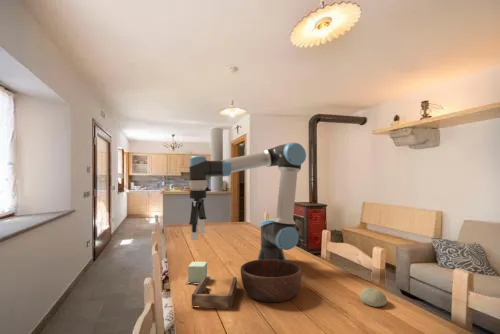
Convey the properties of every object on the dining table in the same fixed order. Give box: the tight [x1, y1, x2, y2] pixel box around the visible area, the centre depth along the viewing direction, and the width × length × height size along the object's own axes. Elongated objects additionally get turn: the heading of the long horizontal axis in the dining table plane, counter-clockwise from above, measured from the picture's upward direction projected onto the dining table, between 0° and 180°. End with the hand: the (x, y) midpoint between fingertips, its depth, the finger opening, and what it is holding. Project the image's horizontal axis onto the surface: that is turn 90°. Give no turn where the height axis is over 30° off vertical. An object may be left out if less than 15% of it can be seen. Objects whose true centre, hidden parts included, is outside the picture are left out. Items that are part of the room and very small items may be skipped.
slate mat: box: [185, 275, 211, 284], centre depth 131 cm, size 9×9×1 cm
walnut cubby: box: [191, 276, 238, 309], centre depth 113 cm, size 14×19×4 cm
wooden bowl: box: [240, 259, 303, 303], centre depth 118 cm, size 25×25×10 cm
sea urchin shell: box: [359, 287, 388, 308], centre depth 108 cm, size 9×8×8 cm
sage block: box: [187, 261, 208, 282], centre depth 131 cm, size 7×7×7 cm
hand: (198, 236), depth 132 cm, fingers open, 13 cm apart
